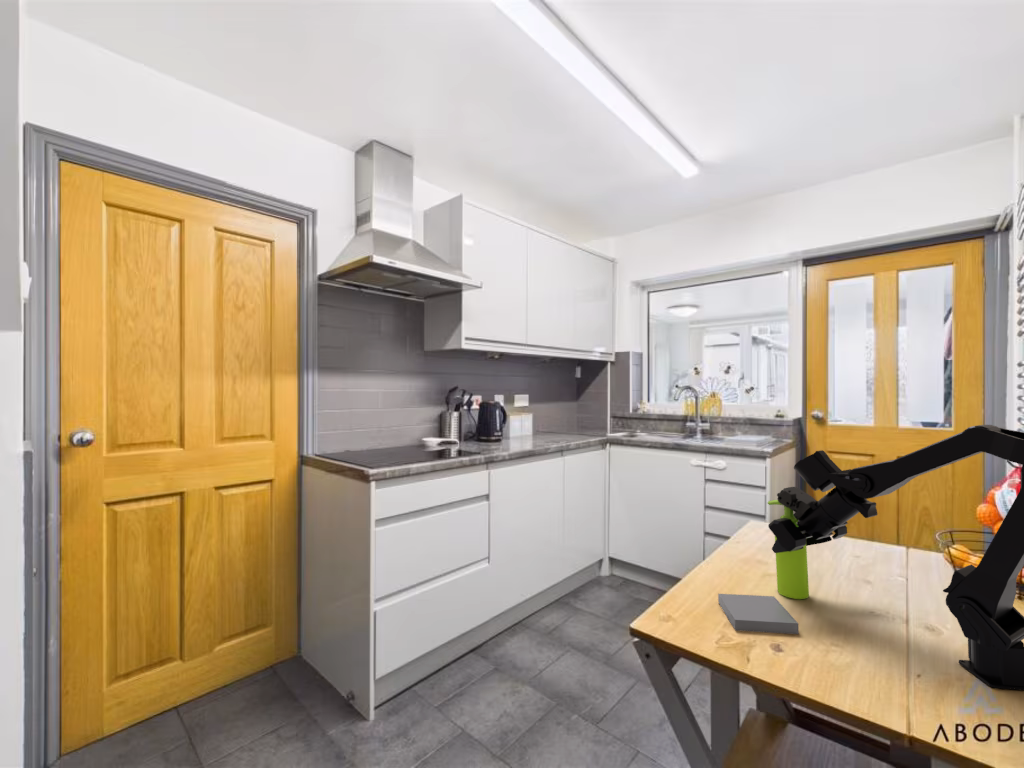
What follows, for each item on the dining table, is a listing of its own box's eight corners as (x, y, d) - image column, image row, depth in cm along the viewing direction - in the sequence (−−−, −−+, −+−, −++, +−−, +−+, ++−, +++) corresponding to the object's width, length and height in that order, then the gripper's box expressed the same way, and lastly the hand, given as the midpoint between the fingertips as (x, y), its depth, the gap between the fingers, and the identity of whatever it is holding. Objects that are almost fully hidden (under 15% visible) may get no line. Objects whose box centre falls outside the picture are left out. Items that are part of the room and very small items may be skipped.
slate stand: (798, 634, 84) (798, 623, 84) (735, 630, 86) (734, 619, 86) (774, 605, 95) (774, 596, 95) (718, 603, 97) (718, 593, 97)
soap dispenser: (774, 583, 105) (770, 496, 105) (810, 591, 101) (805, 500, 101) (769, 593, 101) (765, 502, 101) (807, 601, 96) (802, 506, 96)
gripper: (830, 472, 102) (783, 511, 111) (775, 481, 94) (730, 522, 103) (872, 516, 94) (818, 553, 104) (816, 530, 86) (764, 569, 96)
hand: (782, 548), depth 102 cm, fingers closed on soap dispenser, 6 cm apart
